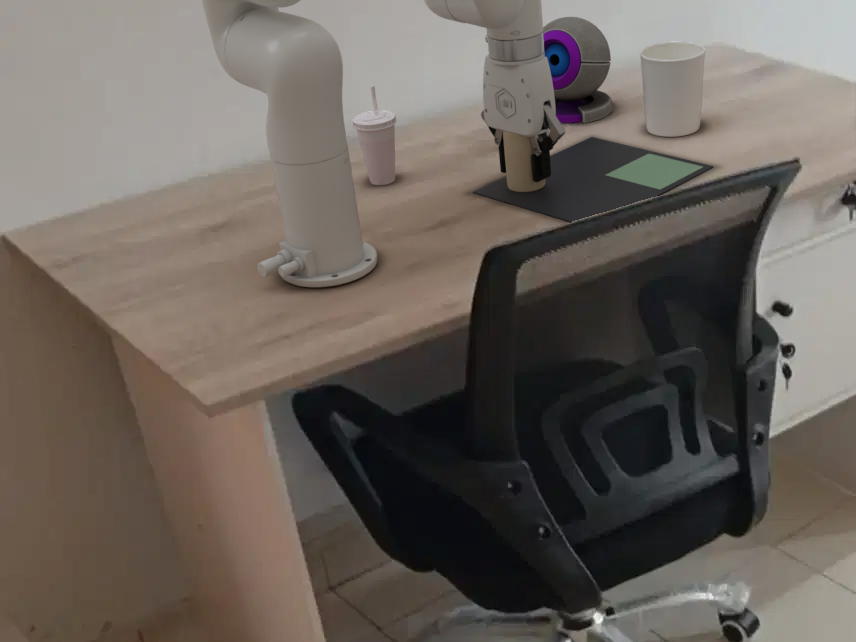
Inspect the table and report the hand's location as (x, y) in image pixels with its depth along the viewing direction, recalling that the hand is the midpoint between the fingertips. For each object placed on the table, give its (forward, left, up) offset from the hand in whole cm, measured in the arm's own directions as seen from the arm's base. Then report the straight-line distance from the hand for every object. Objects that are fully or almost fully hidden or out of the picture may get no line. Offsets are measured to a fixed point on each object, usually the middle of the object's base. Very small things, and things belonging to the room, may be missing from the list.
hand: (525, 173), depth 177 cm
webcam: (+28, +16, -2) cm, 32 cm away
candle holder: (+30, -3, -2) cm, 30 cm away
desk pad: (+7, -6, -2) cm, 10 cm away
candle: (0, 0, -2) cm, 2 cm away
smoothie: (-10, +20, -2) cm, 22 cm away
